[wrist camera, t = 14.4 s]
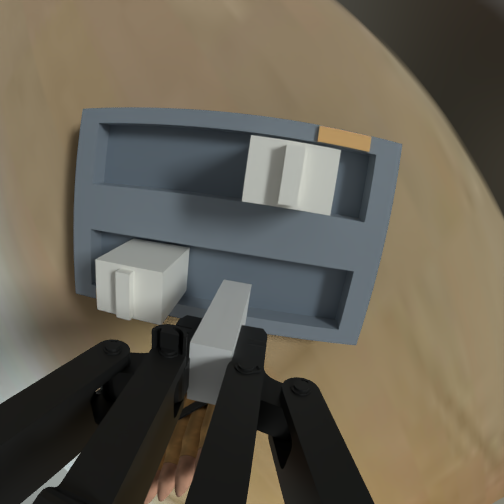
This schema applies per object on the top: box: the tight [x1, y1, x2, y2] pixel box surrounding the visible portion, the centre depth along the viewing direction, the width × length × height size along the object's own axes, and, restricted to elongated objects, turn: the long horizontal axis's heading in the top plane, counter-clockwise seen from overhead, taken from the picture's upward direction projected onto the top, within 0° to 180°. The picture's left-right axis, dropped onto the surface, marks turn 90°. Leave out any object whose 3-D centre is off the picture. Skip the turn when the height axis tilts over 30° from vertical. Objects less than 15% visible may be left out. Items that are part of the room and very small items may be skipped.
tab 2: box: [242, 135, 341, 216], centre depth 16 cm, size 4×3×6 cm
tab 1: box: [95, 238, 190, 325], centre depth 18 cm, size 4×3×6 cm
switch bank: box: [74, 108, 402, 345], centre depth 20 cm, size 20×13×3 cm, turn 82°
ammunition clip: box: [144, 392, 215, 504], centre depth 19 cm, size 11×2×12 cm, turn 132°
